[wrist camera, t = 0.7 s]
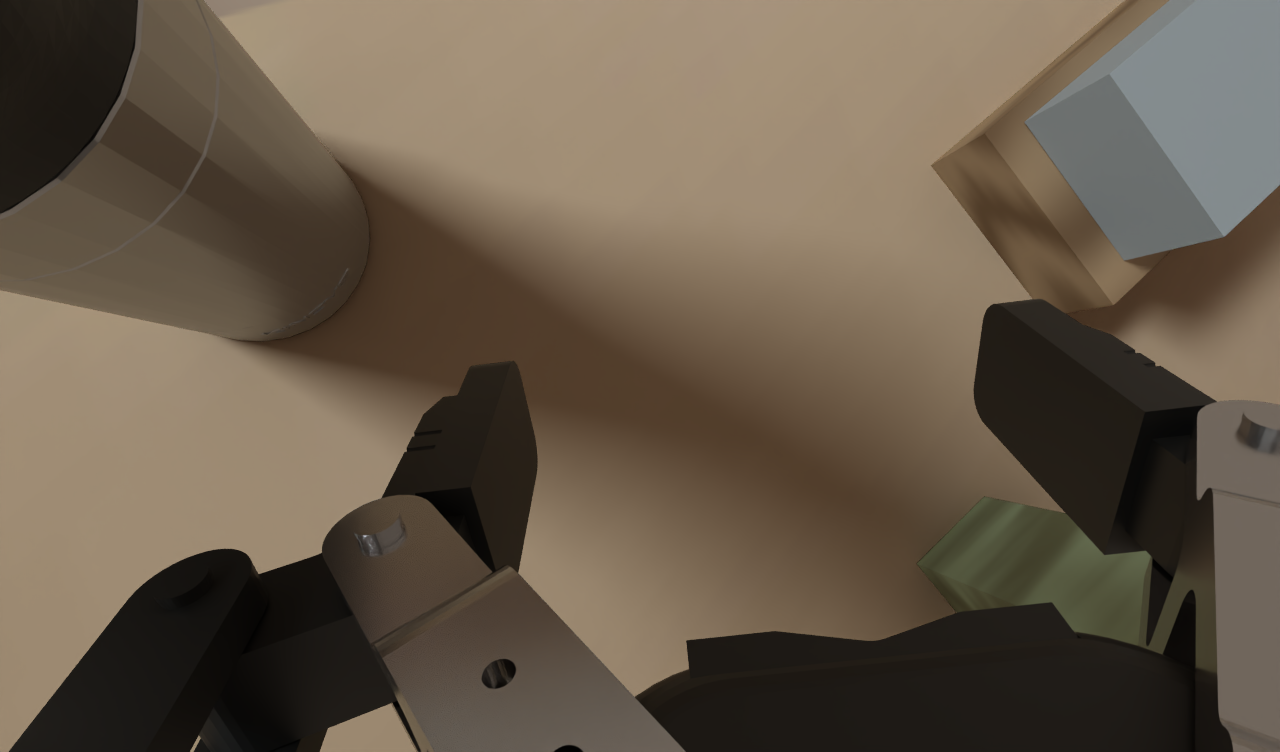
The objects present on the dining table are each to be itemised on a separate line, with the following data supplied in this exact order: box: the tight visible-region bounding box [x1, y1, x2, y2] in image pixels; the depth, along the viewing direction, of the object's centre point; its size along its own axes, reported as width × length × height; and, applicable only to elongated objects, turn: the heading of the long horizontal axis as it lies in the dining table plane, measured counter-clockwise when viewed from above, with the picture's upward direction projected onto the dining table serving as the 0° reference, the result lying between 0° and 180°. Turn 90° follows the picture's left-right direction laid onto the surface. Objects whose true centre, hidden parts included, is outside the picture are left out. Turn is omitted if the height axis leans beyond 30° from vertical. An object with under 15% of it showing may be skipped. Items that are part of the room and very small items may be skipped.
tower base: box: [931, 0, 1172, 313], centre depth 33 cm, size 10×15×4 cm, turn 130°
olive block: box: [917, 496, 1151, 646], centre depth 26 cm, size 5×5×14 cm
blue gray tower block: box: [1025, 0, 1280, 261], centre depth 29 cm, size 8×12×4 cm, turn 129°
